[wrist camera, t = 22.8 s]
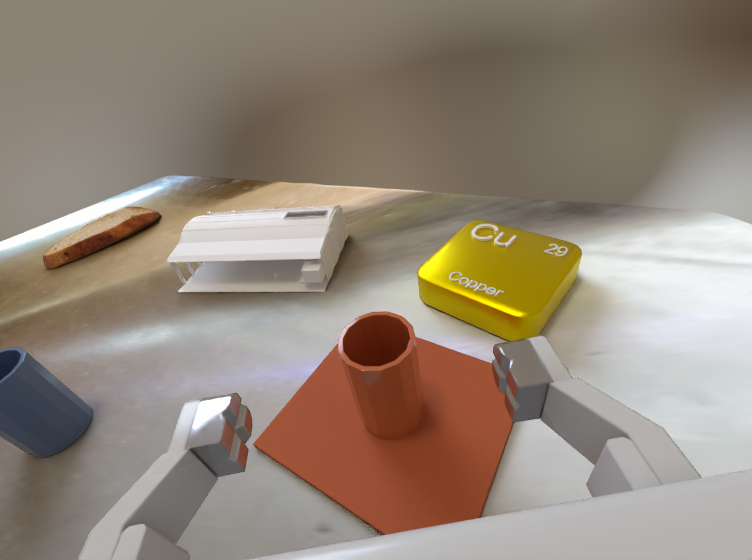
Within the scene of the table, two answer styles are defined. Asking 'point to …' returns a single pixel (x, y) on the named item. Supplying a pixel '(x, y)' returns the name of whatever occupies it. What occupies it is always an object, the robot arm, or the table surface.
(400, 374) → the terracotta cup
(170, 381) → the table surface
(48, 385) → the blue cup
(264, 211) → the model shed
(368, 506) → the terracotta mat
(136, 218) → the bread slice
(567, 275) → the element tile
